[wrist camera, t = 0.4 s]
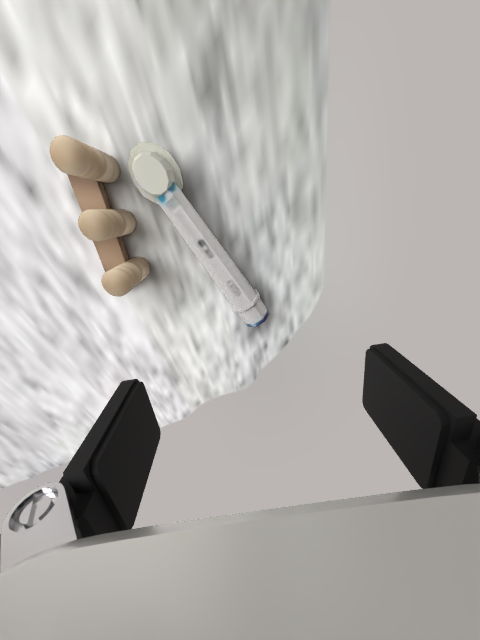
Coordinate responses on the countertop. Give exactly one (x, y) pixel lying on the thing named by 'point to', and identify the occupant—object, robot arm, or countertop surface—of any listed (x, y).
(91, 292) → the countertop surface
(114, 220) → the peg rack
